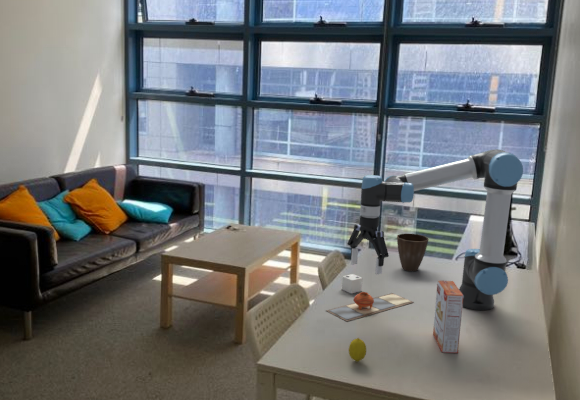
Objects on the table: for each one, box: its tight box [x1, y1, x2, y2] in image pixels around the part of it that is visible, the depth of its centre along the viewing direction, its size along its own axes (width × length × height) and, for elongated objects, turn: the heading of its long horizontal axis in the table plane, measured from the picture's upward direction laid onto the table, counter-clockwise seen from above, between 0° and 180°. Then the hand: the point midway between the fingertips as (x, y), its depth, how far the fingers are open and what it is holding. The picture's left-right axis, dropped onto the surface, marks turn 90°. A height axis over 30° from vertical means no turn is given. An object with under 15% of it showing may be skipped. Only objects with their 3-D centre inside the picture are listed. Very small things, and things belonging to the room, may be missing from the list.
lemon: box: [348, 337, 367, 363], centre depth 182 cm, size 6×6×8 cm
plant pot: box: [396, 233, 429, 272], centre depth 277 cm, size 15×15×16 cm
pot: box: [353, 291, 374, 310], centre depth 226 cm, size 8×8×7 cm
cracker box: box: [432, 280, 464, 354], centre depth 196 cm, size 14×6×21 cm, turn 178°
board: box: [325, 292, 414, 322], centre depth 229 cm, size 12×37×1 cm, turn 127°
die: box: [341, 273, 363, 294], centre depth 246 cm, size 6×6×6 cm
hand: (366, 268), depth 223 cm, fingers open, 13 cm apart
